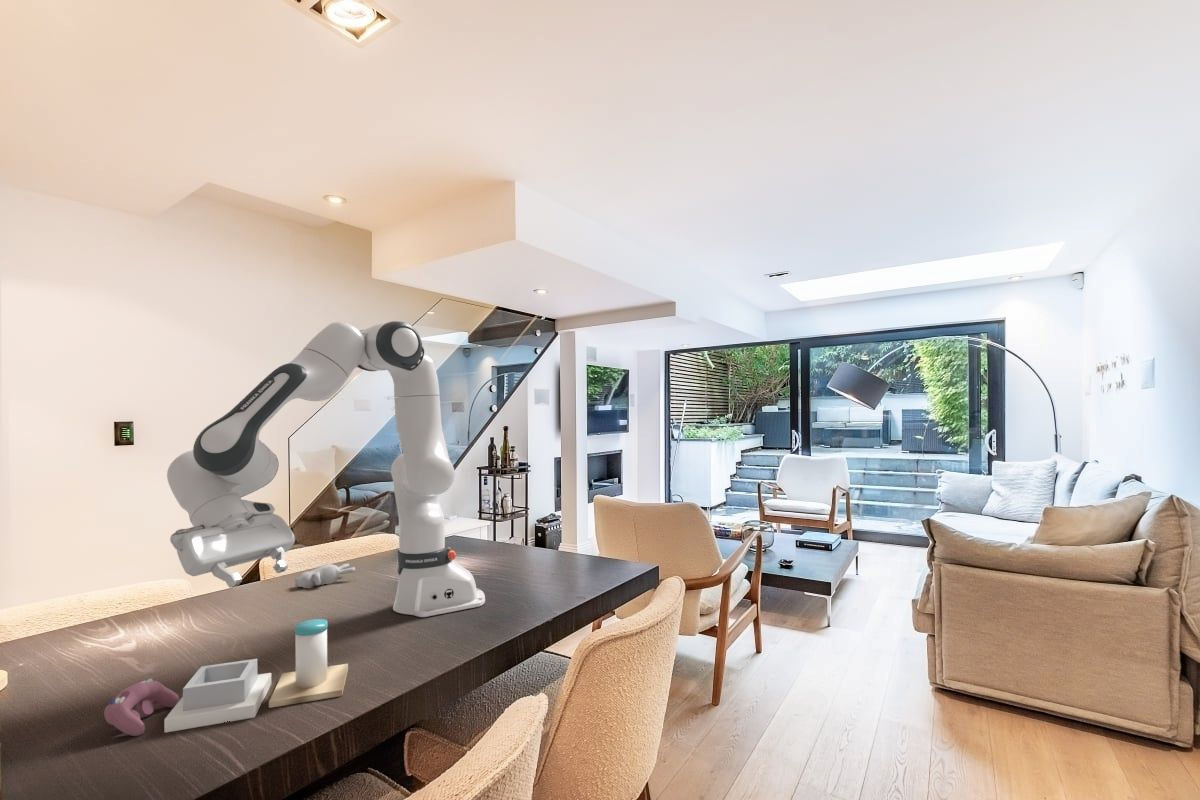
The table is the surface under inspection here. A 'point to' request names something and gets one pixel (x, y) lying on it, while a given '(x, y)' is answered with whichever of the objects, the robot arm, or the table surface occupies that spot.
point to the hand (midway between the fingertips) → (260, 577)
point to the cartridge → (311, 653)
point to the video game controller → (138, 705)
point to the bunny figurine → (322, 575)
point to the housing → (219, 696)
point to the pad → (292, 694)
